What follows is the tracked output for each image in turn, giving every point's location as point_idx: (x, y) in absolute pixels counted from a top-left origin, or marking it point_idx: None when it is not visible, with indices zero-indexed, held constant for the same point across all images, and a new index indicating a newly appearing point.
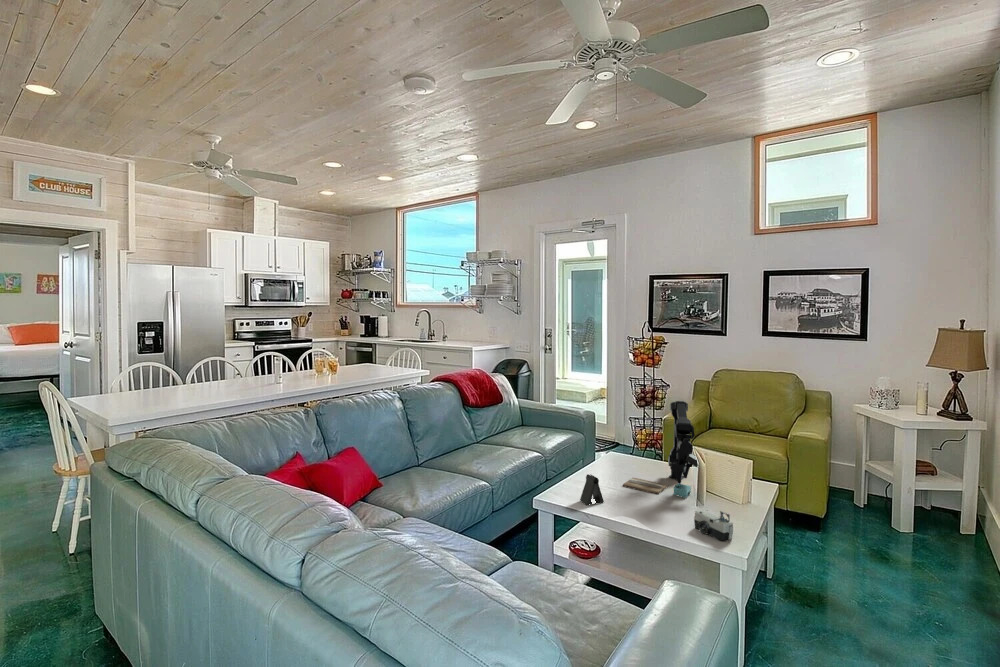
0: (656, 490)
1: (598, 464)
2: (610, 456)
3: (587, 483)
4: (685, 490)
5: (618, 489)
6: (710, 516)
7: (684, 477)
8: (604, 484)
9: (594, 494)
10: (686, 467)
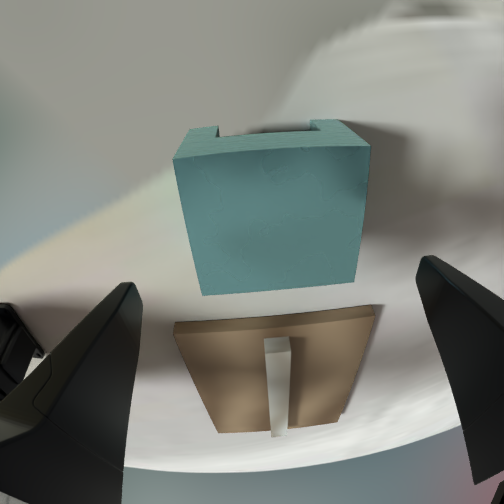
0: (346, 335)
1: (175, 470)
2: None
3: None
4: (365, 158)
5: (381, 404)
6: None
7: (139, 308)
8: (348, 433)
9: None
10: (74, 448)
